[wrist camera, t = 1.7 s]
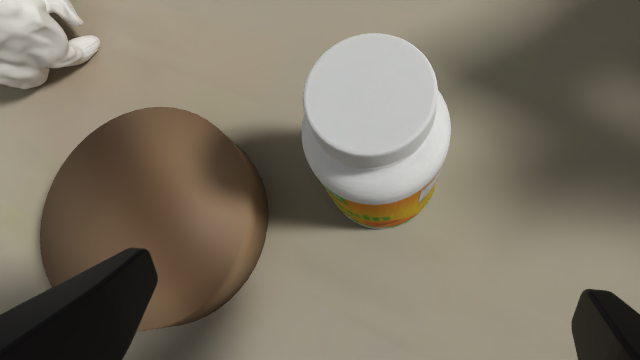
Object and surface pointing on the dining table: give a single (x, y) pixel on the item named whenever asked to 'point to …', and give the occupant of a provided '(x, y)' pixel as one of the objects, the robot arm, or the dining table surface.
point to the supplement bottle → (375, 128)
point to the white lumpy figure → (38, 41)
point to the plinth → (159, 210)
